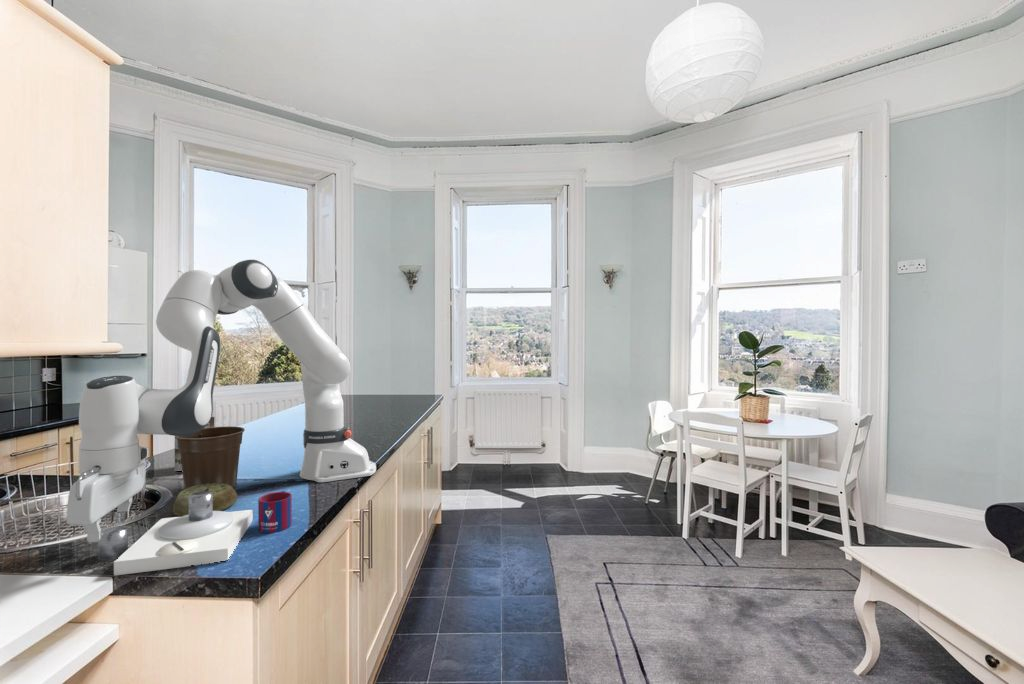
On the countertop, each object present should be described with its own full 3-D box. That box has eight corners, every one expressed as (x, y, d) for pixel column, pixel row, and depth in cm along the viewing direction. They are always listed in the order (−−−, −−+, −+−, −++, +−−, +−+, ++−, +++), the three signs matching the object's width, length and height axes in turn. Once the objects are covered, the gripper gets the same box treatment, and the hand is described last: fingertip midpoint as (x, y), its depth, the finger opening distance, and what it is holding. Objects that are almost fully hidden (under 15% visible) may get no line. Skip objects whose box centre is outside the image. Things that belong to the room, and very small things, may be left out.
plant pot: (188, 482, 133) (187, 427, 133) (250, 477, 138) (250, 424, 138) (165, 502, 117) (164, 440, 117) (236, 495, 123) (236, 436, 122)
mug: (252, 533, 100) (252, 502, 100) (273, 515, 110) (273, 487, 110) (284, 532, 100) (284, 502, 100) (302, 514, 110) (302, 486, 110)
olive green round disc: (200, 522, 106) (200, 501, 106) (158, 515, 110) (157, 494, 110) (249, 501, 119) (249, 482, 119) (210, 496, 123) (210, 477, 123)
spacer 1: (132, 549, 92) (132, 524, 92) (121, 559, 88) (120, 533, 88) (105, 552, 91) (105, 527, 91) (93, 562, 87) (92, 536, 87)
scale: (252, 520, 107) (252, 506, 107) (226, 562, 87) (226, 545, 87) (161, 529, 101) (161, 514, 101) (112, 577, 82) (112, 558, 82)
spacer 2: (216, 516, 101) (216, 493, 101) (193, 523, 97) (193, 499, 97) (207, 511, 103) (207, 489, 103) (185, 518, 100) (184, 495, 100)
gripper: (99, 474, 80) (98, 552, 80) (152, 446, 100) (151, 509, 100) (54, 476, 78) (53, 556, 79) (117, 448, 98) (117, 512, 98)
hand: (109, 530), depth 89 cm, fingers open, 8 cm apart
